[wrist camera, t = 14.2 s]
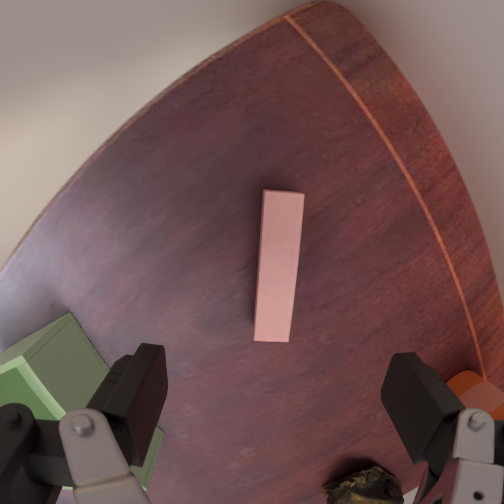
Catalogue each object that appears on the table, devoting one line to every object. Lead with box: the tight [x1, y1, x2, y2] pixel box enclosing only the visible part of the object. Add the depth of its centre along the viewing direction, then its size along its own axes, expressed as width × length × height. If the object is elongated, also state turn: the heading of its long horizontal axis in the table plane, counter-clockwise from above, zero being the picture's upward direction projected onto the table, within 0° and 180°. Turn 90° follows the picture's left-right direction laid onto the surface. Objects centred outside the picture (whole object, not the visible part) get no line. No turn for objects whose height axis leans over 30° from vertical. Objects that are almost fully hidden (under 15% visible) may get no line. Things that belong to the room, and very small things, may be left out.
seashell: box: [322, 466, 404, 504], centre depth 26 cm, size 16×9×7 cm, turn 43°
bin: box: [0, 312, 164, 490], centre depth 21 cm, size 15×13×8 cm
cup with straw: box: [446, 370, 504, 420], centre depth 16 cm, size 9×9×18 cm
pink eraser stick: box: [254, 189, 305, 342], centre depth 20 cm, size 10×2×2 cm, turn 176°
